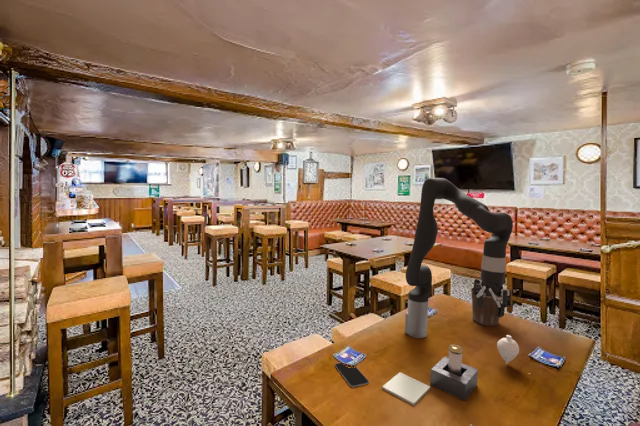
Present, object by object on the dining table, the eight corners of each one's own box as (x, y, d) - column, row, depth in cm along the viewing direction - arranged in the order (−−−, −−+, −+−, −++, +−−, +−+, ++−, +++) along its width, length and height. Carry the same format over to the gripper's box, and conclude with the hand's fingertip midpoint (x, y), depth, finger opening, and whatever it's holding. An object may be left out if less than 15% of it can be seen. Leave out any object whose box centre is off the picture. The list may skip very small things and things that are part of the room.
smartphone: (350, 360, 128) (370, 382, 114) (350, 362, 128) (369, 384, 114) (333, 364, 125) (351, 386, 111) (333, 366, 125) (351, 389, 111)
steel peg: (444, 385, 114) (446, 347, 112) (449, 379, 117) (451, 343, 116) (457, 391, 110) (460, 352, 109) (462, 385, 114) (465, 347, 113)
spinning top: (506, 371, 123) (509, 341, 122) (491, 360, 130) (493, 332, 129) (522, 368, 125) (525, 339, 124) (506, 358, 132) (508, 330, 131)
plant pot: (503, 319, 171) (505, 290, 169) (502, 331, 157) (505, 299, 156) (470, 312, 179) (472, 284, 178) (466, 323, 166) (468, 293, 164)
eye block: (430, 385, 114) (430, 369, 113) (443, 371, 122) (444, 356, 122) (464, 401, 105) (465, 384, 105) (476, 385, 114) (478, 369, 113)
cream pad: (382, 388, 111) (382, 386, 111) (399, 374, 120) (399, 372, 120) (413, 405, 103) (414, 403, 103) (430, 388, 111) (430, 386, 111)
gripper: (469, 264, 119) (466, 305, 120) (502, 274, 105) (498, 321, 107) (485, 262, 121) (482, 303, 123) (519, 273, 108) (515, 319, 109)
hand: (489, 312), depth 115 cm, fingers open, 8 cm apart
